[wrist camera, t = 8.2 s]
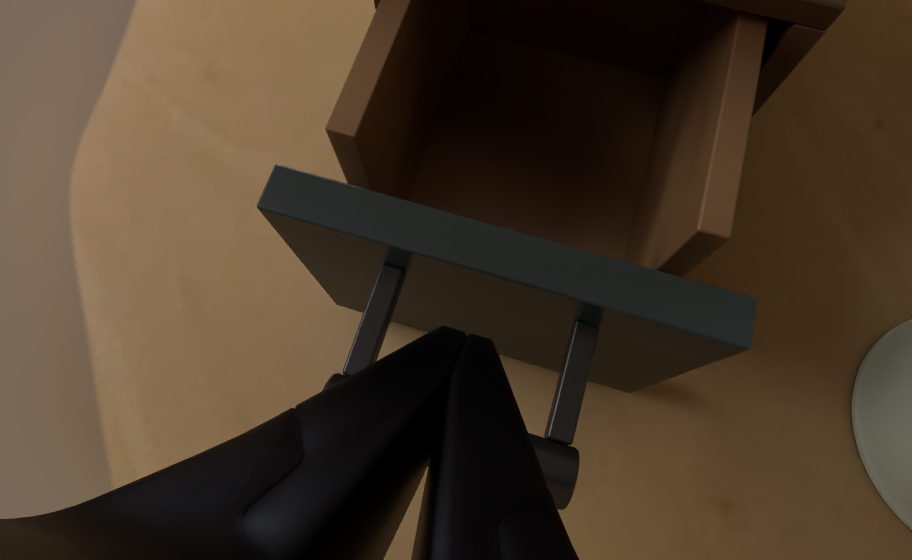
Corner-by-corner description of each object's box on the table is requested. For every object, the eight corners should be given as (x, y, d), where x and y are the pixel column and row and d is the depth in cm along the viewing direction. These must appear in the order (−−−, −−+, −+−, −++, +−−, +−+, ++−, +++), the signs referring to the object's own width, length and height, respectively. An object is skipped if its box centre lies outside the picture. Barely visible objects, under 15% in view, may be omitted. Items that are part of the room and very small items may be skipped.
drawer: (604, 516, 19) (719, 565, 11) (293, 415, 20) (173, 387, 12) (694, 89, 24) (820, -107, 16) (442, 27, 25) (433, -188, 17)
